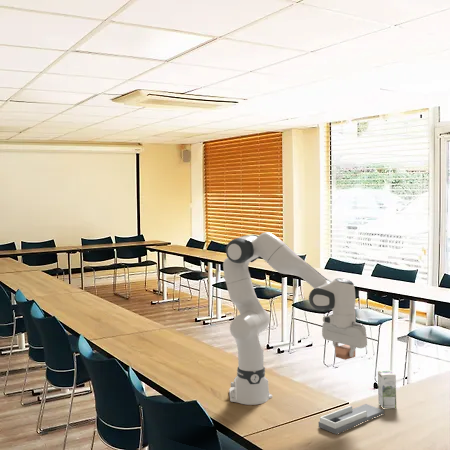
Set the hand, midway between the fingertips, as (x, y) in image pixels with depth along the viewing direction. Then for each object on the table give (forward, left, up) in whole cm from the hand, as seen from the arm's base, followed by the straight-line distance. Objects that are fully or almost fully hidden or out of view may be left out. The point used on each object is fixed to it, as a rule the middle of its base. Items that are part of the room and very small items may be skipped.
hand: (344, 354), depth 226 cm
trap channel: (+7, 0, -24) cm, 25 cm away
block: (0, +1, -1) cm, 1 cm away
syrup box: (-2, +20, -24) cm, 31 cm away
